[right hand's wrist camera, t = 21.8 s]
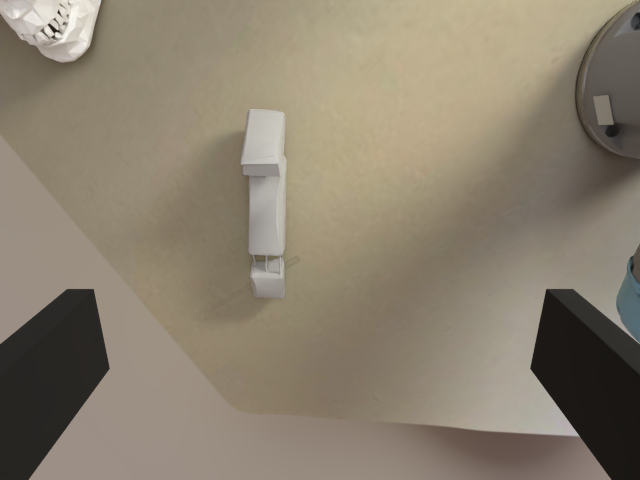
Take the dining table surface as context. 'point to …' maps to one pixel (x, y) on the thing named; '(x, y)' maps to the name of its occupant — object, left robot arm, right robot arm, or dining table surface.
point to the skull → (39, 10)
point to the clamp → (266, 199)
